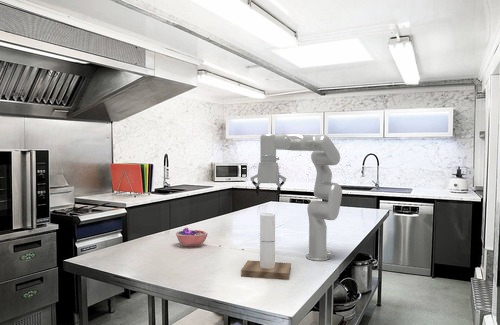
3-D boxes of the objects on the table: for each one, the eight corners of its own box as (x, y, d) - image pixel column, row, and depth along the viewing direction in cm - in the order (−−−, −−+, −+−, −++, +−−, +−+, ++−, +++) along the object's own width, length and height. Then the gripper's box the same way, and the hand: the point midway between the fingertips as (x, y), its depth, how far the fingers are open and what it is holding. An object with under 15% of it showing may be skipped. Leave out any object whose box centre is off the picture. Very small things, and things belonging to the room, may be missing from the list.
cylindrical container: (266, 269, 166) (266, 216, 166) (257, 265, 172) (257, 214, 172) (277, 266, 170) (278, 214, 170) (268, 263, 176) (268, 212, 176)
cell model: (202, 250, 211) (202, 231, 211) (170, 248, 215) (171, 229, 215) (211, 243, 228) (211, 226, 227) (181, 242, 232) (181, 224, 231)
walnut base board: (290, 269, 177) (291, 263, 177) (288, 279, 161) (288, 273, 161) (247, 266, 181) (247, 260, 181) (241, 276, 165) (241, 270, 165)
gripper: (286, 159, 173) (286, 194, 173) (251, 159, 176) (251, 194, 176) (285, 159, 165) (285, 196, 166) (249, 159, 168) (249, 195, 169)
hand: (268, 195), depth 171 cm, fingers open, 9 cm apart
